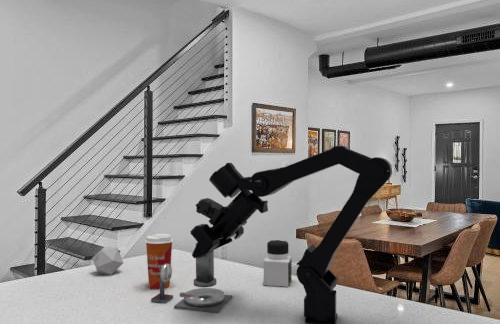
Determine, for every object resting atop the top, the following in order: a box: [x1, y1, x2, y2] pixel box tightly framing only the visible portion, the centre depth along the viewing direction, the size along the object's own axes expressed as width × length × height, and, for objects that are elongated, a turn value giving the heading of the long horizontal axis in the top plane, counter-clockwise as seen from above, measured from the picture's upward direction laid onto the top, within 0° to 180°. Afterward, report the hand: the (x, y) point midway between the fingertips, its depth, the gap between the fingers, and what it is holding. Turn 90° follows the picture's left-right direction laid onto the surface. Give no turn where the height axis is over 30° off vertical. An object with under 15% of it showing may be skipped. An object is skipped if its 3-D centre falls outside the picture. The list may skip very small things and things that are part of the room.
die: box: [91, 246, 124, 276], centre depth 132 cm, size 8×9×10 cm
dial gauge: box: [150, 264, 174, 304], centre depth 107 cm, size 4×4×9 cm
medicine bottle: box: [263, 239, 293, 288], centre depth 121 cm, size 7×7×12 cm
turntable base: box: [173, 294, 234, 314], centre depth 105 cm, size 11×11×1 cm
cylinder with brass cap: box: [193, 242, 217, 288], centre depth 104 cm, size 6×6×10 cm
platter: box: [179, 287, 226, 306], centre depth 105 cm, size 11×10×1 cm
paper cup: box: [144, 233, 174, 290], centre depth 118 cm, size 8×8×14 cm
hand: (197, 254), depth 105 cm, fingers closed on cylinder with brass cap, 4 cm apart
